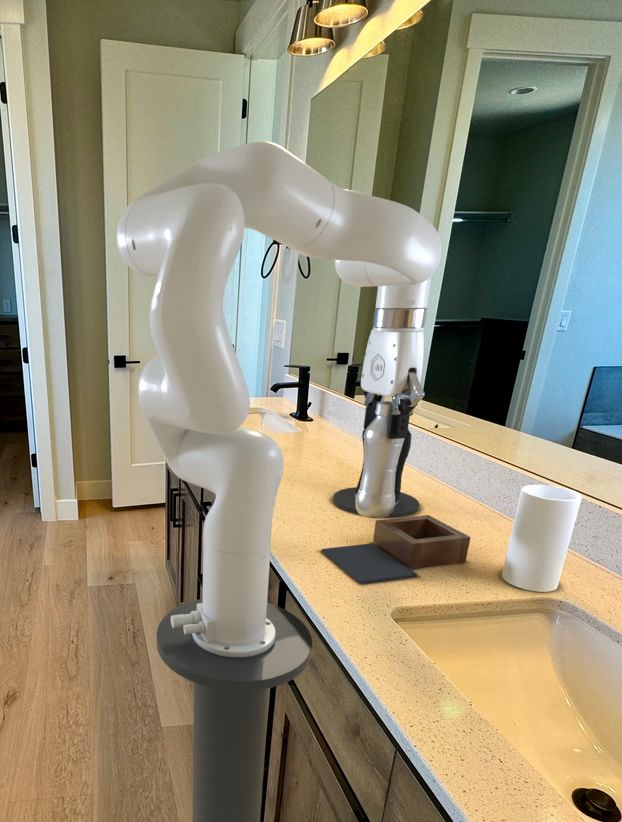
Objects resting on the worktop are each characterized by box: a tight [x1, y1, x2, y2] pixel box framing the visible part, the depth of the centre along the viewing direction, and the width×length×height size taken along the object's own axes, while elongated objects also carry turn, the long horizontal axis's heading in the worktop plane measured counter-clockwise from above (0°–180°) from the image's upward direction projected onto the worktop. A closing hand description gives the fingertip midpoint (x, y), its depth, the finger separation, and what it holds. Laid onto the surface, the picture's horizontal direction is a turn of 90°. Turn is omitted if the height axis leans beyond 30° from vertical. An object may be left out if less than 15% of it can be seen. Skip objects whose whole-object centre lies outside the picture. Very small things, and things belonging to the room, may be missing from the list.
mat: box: [321, 542, 418, 585], centre depth 105 cm, size 11×14×1 cm
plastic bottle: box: [356, 400, 404, 519], centre depth 98 cm, size 6×7×20 cm
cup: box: [501, 484, 583, 593], centre depth 95 cm, size 8×8×16 cm
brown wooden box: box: [372, 514, 472, 570], centre depth 109 cm, size 12×12×5 cm
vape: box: [332, 399, 420, 519], centre depth 131 cm, size 19×19×25 cm
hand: (384, 432), depth 96 cm, fingers closed on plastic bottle, 6 cm apart
